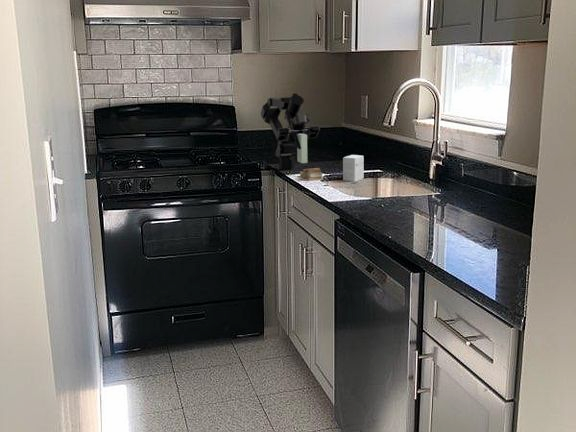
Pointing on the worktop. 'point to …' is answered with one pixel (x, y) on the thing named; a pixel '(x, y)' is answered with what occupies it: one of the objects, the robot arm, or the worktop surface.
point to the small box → (353, 168)
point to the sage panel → (302, 148)
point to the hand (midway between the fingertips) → (303, 148)
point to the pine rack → (311, 174)
